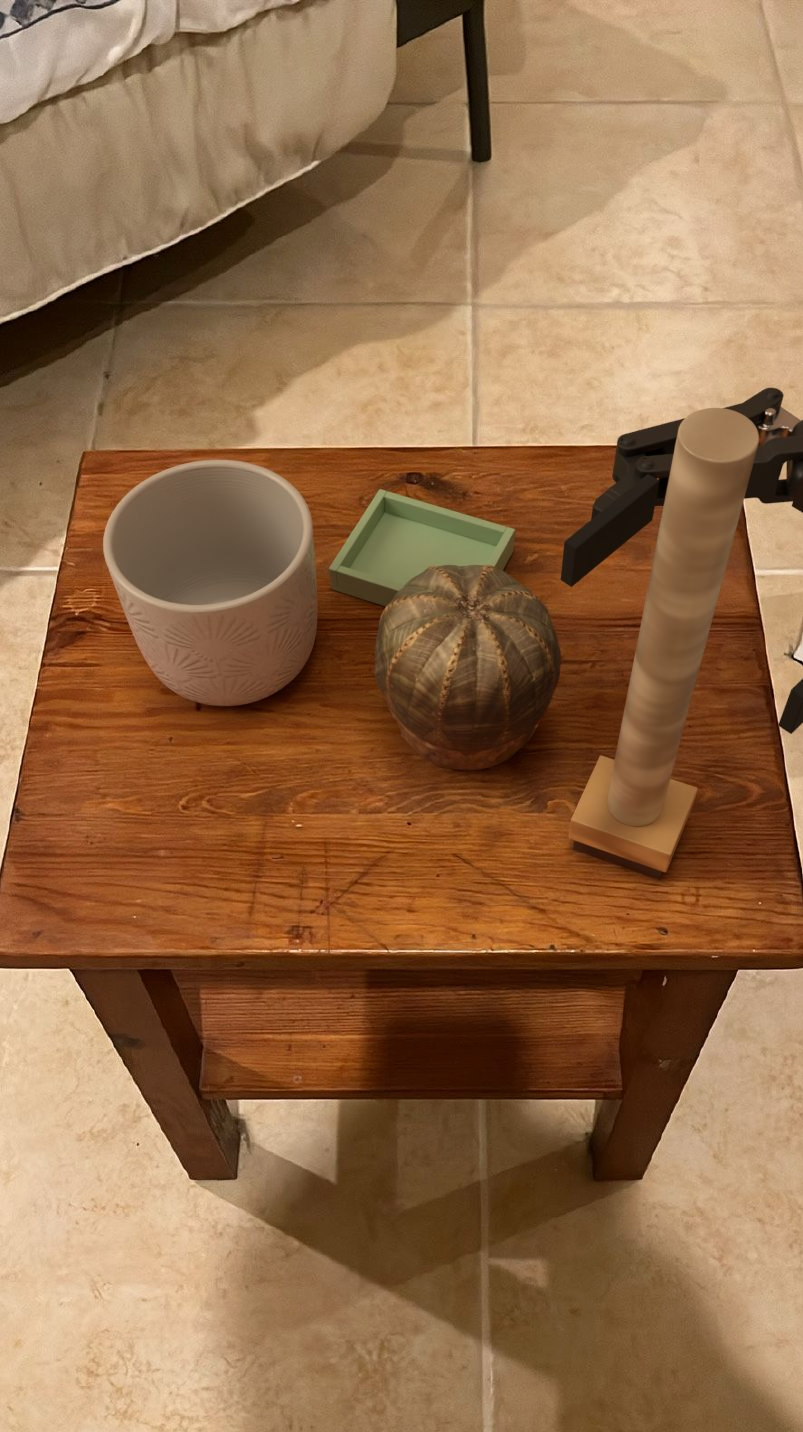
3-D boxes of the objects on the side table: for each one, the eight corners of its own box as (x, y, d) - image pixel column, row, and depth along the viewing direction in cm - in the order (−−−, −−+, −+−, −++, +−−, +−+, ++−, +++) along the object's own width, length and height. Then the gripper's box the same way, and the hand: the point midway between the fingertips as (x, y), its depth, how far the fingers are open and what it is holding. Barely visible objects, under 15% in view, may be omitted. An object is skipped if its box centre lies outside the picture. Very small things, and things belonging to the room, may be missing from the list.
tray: (514, 550, 89) (515, 528, 87) (468, 633, 85) (468, 613, 84) (380, 509, 91) (379, 488, 90) (330, 589, 88) (328, 568, 86)
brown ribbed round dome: (360, 784, 79) (347, 657, 69) (402, 650, 85) (396, 514, 74) (533, 816, 78) (547, 691, 67) (565, 677, 83) (582, 542, 73)
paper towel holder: (688, 820, 77) (809, 413, 52) (662, 886, 75) (775, 495, 49) (594, 788, 79) (666, 376, 53) (565, 851, 76) (626, 454, 51)
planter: (336, 586, 88) (323, 461, 78) (315, 732, 81) (298, 615, 72) (158, 579, 89) (124, 454, 79) (123, 722, 82) (82, 605, 73)
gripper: (1103, 582, 68) (872, 827, 61) (723, 372, 77) (483, 561, 70) (1171, 472, 61) (922, 730, 54) (748, 257, 71) (487, 452, 64)
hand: (674, 635), depth 62 cm, fingers open, 13 cm apart
